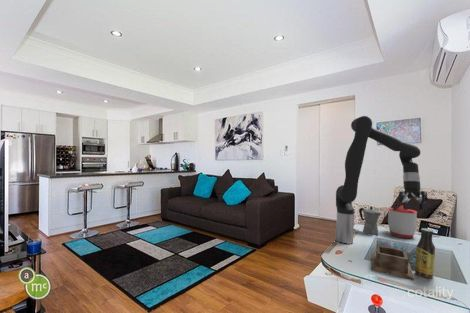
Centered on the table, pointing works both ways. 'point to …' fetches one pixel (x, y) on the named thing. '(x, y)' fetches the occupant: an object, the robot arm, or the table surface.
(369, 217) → the coffeepot
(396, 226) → the citrus juicer
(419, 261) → the sauce bottle
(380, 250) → the bottle stand
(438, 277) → the table surface
